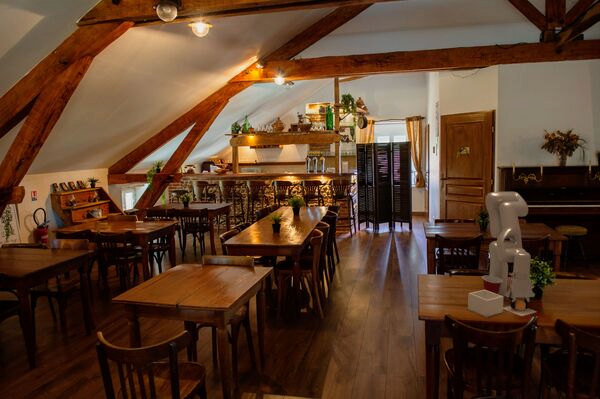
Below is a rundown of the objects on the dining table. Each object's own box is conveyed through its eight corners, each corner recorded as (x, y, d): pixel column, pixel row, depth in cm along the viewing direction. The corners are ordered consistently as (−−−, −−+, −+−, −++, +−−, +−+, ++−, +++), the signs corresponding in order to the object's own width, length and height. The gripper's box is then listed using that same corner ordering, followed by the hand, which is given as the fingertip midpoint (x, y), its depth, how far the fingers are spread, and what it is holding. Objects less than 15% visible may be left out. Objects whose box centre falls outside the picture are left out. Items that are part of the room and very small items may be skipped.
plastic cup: (501, 303, 237) (502, 282, 236) (480, 300, 242) (481, 279, 241) (502, 297, 247) (503, 276, 245) (482, 293, 252) (483, 274, 250)
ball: (510, 309, 228) (510, 298, 227) (517, 306, 231) (518, 296, 230) (520, 313, 223) (521, 302, 222) (527, 310, 225) (528, 300, 225)
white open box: (467, 309, 230) (468, 293, 228) (483, 305, 235) (484, 289, 234) (486, 317, 219) (487, 300, 218) (502, 313, 224) (503, 296, 223)
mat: (501, 309, 230) (501, 308, 229) (516, 304, 235) (516, 304, 235) (521, 317, 219) (521, 316, 219) (536, 312, 224) (536, 311, 224)
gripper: (507, 277, 220) (506, 311, 223) (541, 277, 220) (539, 311, 223) (501, 273, 228) (499, 305, 230) (533, 273, 228) (531, 305, 230)
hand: (519, 307), depth 227 cm, fingers closed on ball, 5 cm apart
